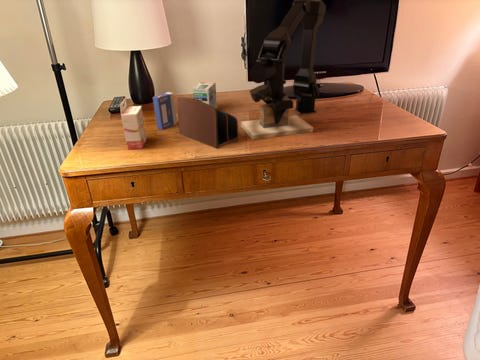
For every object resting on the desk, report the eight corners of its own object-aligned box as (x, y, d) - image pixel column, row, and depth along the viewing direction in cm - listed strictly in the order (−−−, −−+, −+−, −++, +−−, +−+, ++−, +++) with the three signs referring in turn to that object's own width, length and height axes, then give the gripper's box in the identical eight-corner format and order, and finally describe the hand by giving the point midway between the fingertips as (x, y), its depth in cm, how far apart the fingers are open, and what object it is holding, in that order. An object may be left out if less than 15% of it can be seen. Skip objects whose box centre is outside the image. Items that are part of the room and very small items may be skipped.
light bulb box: (210, 116, 137) (208, 88, 131) (194, 115, 138) (191, 88, 133) (217, 107, 146) (215, 82, 141) (202, 107, 147) (200, 81, 142)
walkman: (162, 130, 125) (157, 97, 119) (157, 128, 126) (152, 96, 120) (177, 123, 130) (174, 91, 124) (172, 122, 132) (168, 90, 126)
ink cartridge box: (143, 149, 110) (135, 104, 103) (127, 150, 110) (118, 105, 103) (147, 138, 118) (140, 96, 110) (132, 139, 117) (124, 97, 110)
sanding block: (283, 121, 125) (283, 102, 121) (287, 125, 121) (288, 105, 118) (259, 123, 123) (259, 104, 119) (263, 128, 119) (263, 108, 116)
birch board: (296, 118, 131) (296, 114, 130) (312, 131, 119) (313, 127, 119) (241, 125, 126) (240, 121, 125) (252, 139, 114) (252, 135, 114)
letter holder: (217, 149, 109) (214, 106, 102) (179, 134, 121) (174, 94, 114) (239, 140, 115) (237, 98, 108) (200, 126, 127) (197, 88, 120)
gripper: (244, 73, 120) (245, 115, 128) (261, 86, 104) (261, 134, 112) (274, 70, 122) (273, 112, 130) (295, 82, 107) (292, 129, 114)
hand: (274, 121), depth 122 cm, fingers closed on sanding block, 4 cm apart
